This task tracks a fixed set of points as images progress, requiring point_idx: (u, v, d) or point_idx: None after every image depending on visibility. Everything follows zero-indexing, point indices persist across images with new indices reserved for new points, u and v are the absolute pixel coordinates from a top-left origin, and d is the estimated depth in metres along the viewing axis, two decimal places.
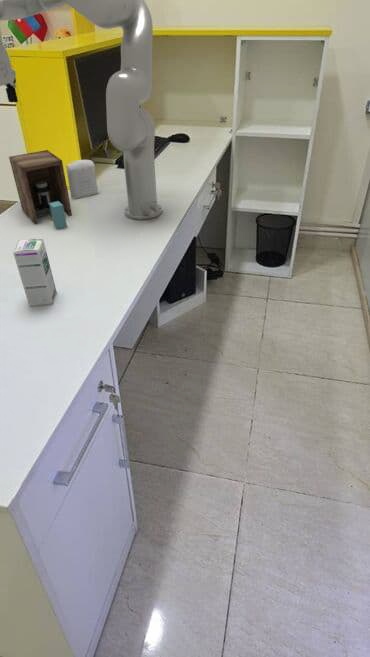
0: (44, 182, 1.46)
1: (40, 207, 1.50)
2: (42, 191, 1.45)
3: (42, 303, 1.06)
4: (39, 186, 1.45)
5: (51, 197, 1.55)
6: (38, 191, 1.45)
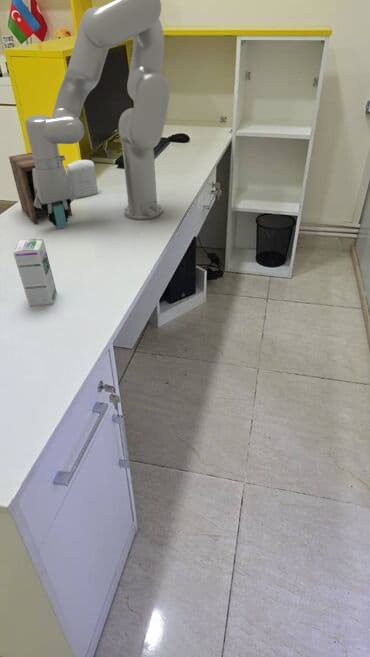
0: None
1: None
2: None
3: (42, 303, 1.06)
4: None
5: None
6: None
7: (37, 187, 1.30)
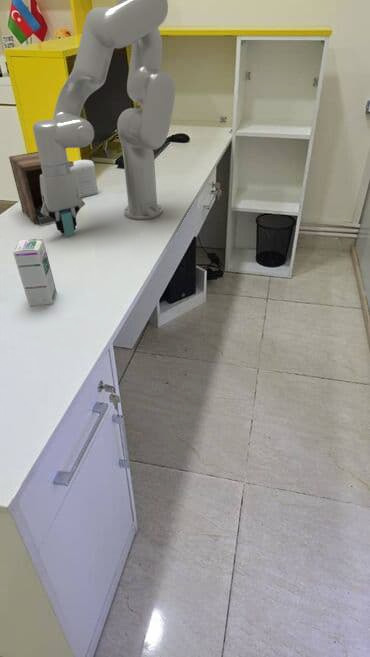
0: None
1: None
2: None
3: (42, 303, 1.06)
4: None
5: None
6: None
7: (44, 194, 1.26)
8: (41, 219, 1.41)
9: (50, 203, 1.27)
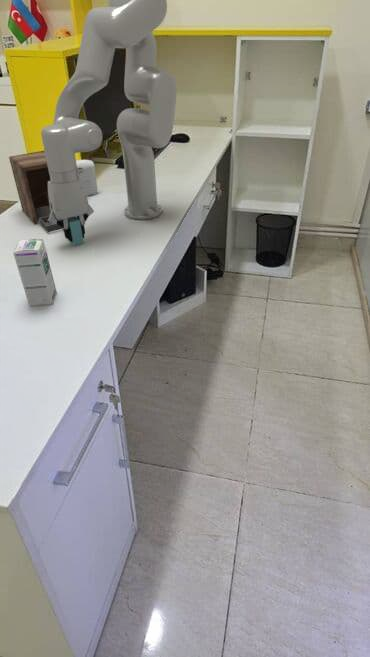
0: None
1: None
2: None
3: (42, 303, 1.06)
4: None
5: None
6: None
7: (53, 202, 1.21)
8: (48, 226, 1.37)
9: (58, 211, 1.22)
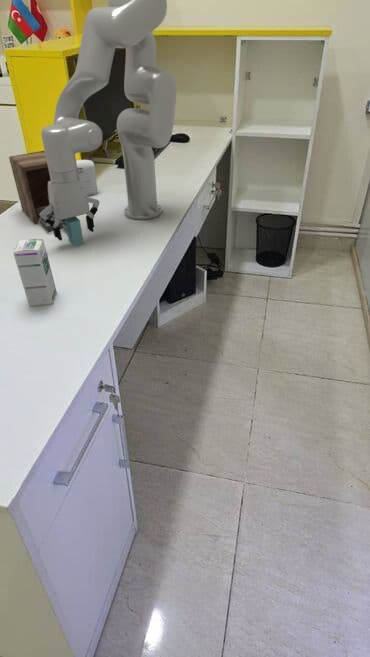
0: None
1: None
2: None
3: (42, 303, 1.06)
4: None
5: None
6: None
7: (53, 202, 1.21)
8: (48, 227, 1.37)
9: (59, 211, 1.22)
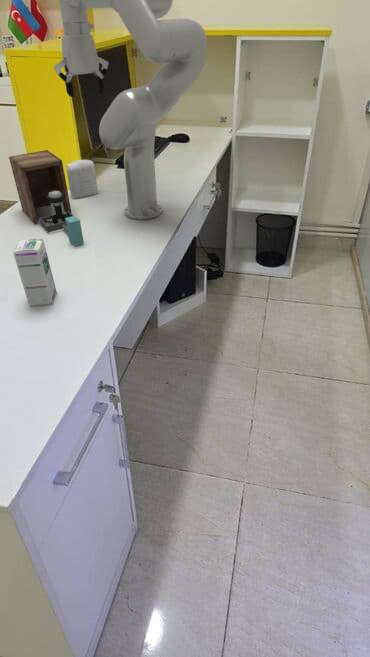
0: (58, 191, 1.39)
1: (54, 219, 1.42)
2: (59, 201, 1.38)
3: (42, 303, 1.06)
4: (55, 196, 1.37)
5: None
6: (55, 202, 1.38)
7: (66, 54, 1.32)
8: (48, 227, 1.37)
9: (71, 64, 1.34)
